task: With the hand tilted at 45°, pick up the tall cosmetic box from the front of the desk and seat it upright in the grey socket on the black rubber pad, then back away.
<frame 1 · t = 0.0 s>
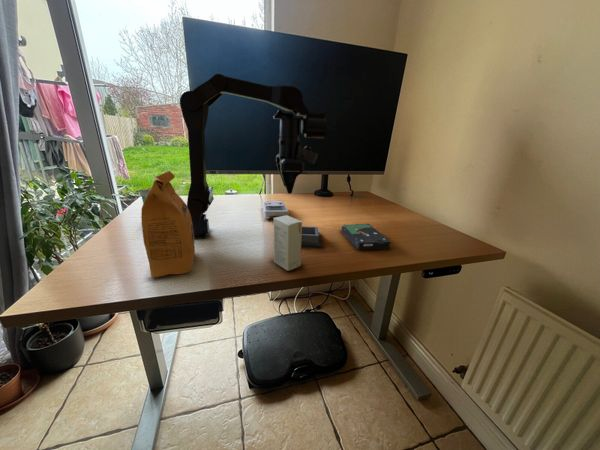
hand: (287, 189, 75), 15 cm above the table, tool pointing down, fingers open, 9 cm apart
disk drive: (363, 240, 79), on the table
food container: (162, 212, 92), on the table
coffee package: (176, 265, 59), on the table
dock pad: (303, 240, 76), on the table
cosmetic box: (286, 264, 62), on the table
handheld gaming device: (274, 214, 97), on the table
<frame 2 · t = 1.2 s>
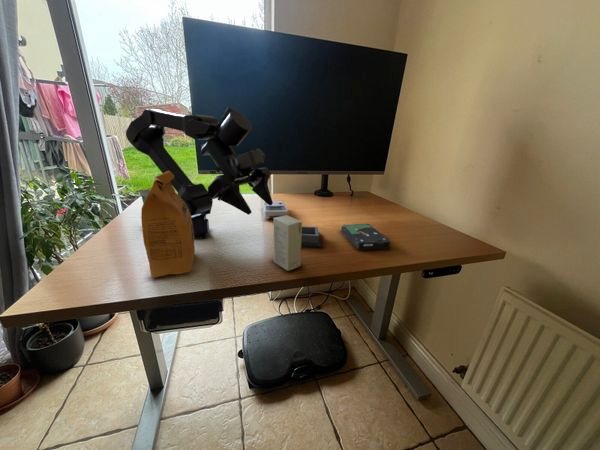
hand: (261, 208, 61), 13 cm above the table, tool tilted 45°, fingers open, 9 cm apart
nothing on the table moved.
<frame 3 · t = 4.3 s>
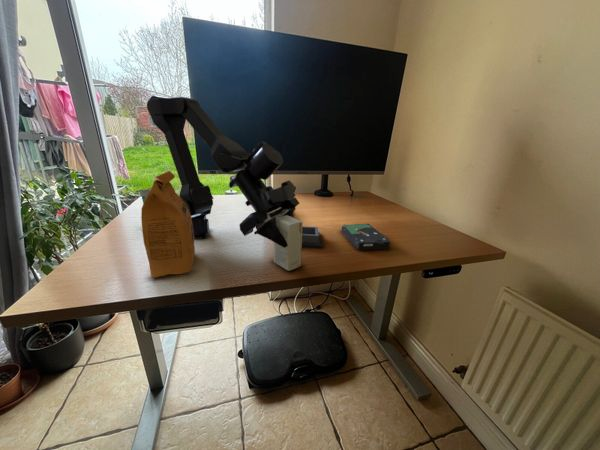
hand: (292, 242, 59), 7 cm above the table, tool tilted 45°, fingers closed on cosmetic box, 5 cm apart
cosmetic box: (286, 264, 62), on the table, touching gripper
everything else where it was.
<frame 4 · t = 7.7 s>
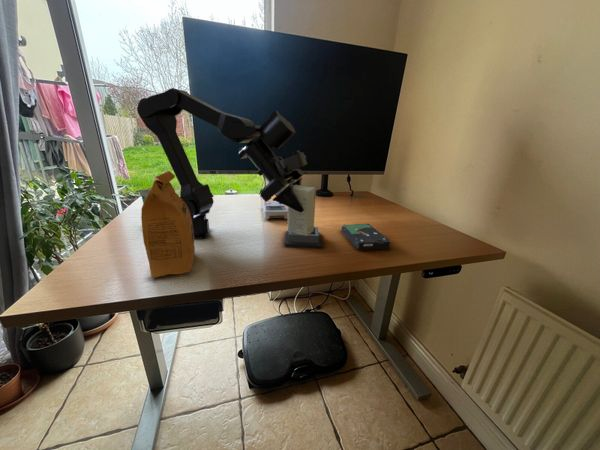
hand: (304, 208, 63), 13 cm above the table, tool tilted 45°, fingers closed on cosmetic box, 5 cm apart
cosmetic box: (299, 231, 66), point 6 cm above the table, touching gripper
everything else where it was.
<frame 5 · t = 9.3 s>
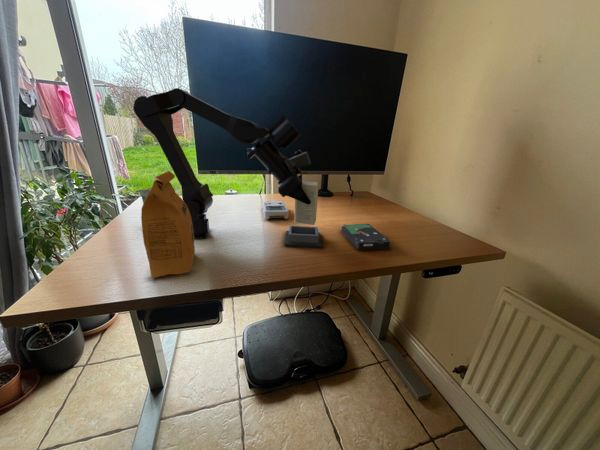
hand: (309, 201, 71), 13 cm above the table, tool tilted 45°, fingers closed on cosmetic box, 5 cm apart
cosmetic box: (304, 222, 74), point 6 cm above the table, touching gripper
everything else where it was.
when the fingers open (8 cm above the table, at t = 10.9 s): cosmetic box stays where it is, resting on dock pad.
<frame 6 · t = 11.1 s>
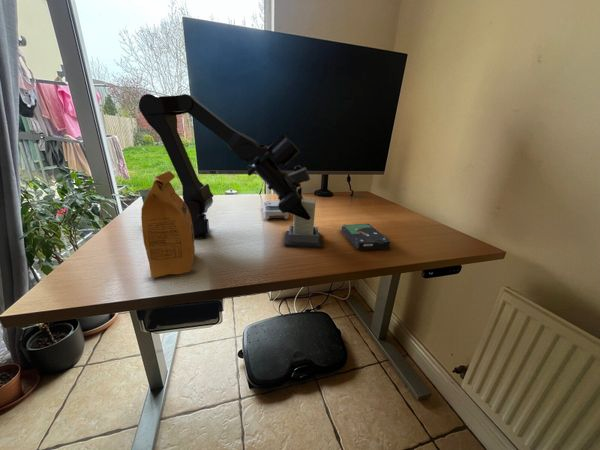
hand: (309, 215, 73), 8 cm above the table, tool tilted 45°, fingers open, 7 cm apart
cosmetic box: (302, 237, 76), point 1 cm above the table, touching dock pad
everything else where it was.
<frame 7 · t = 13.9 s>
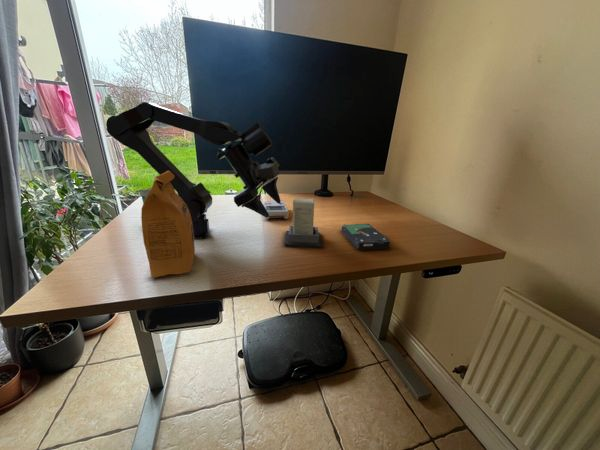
hand: (274, 209, 72), 10 cm above the table, tool tilted 35°, fingers open, 9 cm apart
nothing on the table moved.
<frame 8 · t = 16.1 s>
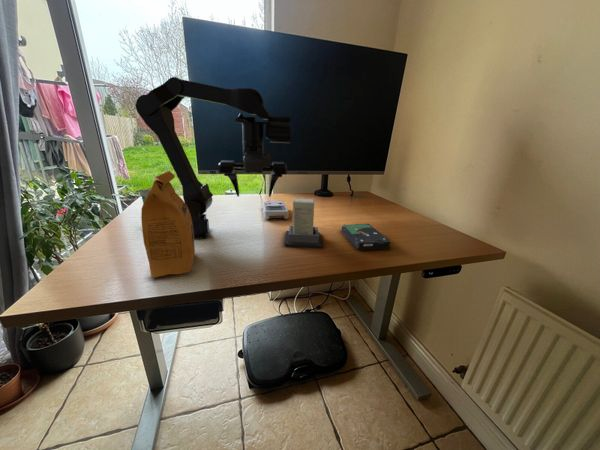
hand: (254, 196, 72), 13 cm above the table, tool pointing down, fingers open, 9 cm apart
nothing on the table moved.
at the end: cosmetic box 0.3 cm off-centre on the dock pad, point 0.6 cm above the dock pad's base; cosmetic box tilted 0°; the gripper is holding nothing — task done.
